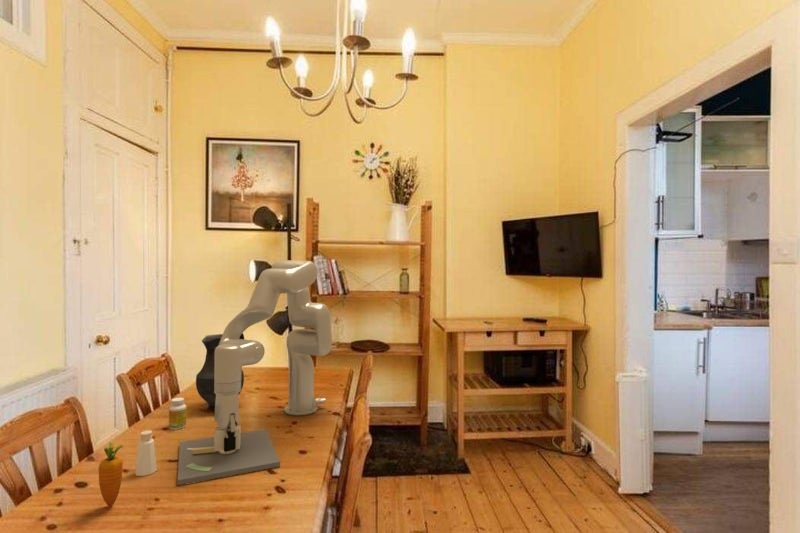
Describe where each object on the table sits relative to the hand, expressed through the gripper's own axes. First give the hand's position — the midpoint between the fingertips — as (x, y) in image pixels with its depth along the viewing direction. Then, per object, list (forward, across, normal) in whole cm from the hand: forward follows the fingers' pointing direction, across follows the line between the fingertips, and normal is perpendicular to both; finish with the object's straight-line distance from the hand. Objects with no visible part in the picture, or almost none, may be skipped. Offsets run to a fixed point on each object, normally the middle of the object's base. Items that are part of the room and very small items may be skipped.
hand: (227, 446), depth 131 cm
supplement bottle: (+3, -33, -8) cm, 34 cm away
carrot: (+3, +12, -30) cm, 32 cm away
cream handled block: (+1, -1, -3) cm, 3 cm away
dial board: (+3, 0, 0) cm, 3 cm away
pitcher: (+3, -46, +10) cm, 47 cm away
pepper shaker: (+3, -3, -21) cm, 21 cm away
